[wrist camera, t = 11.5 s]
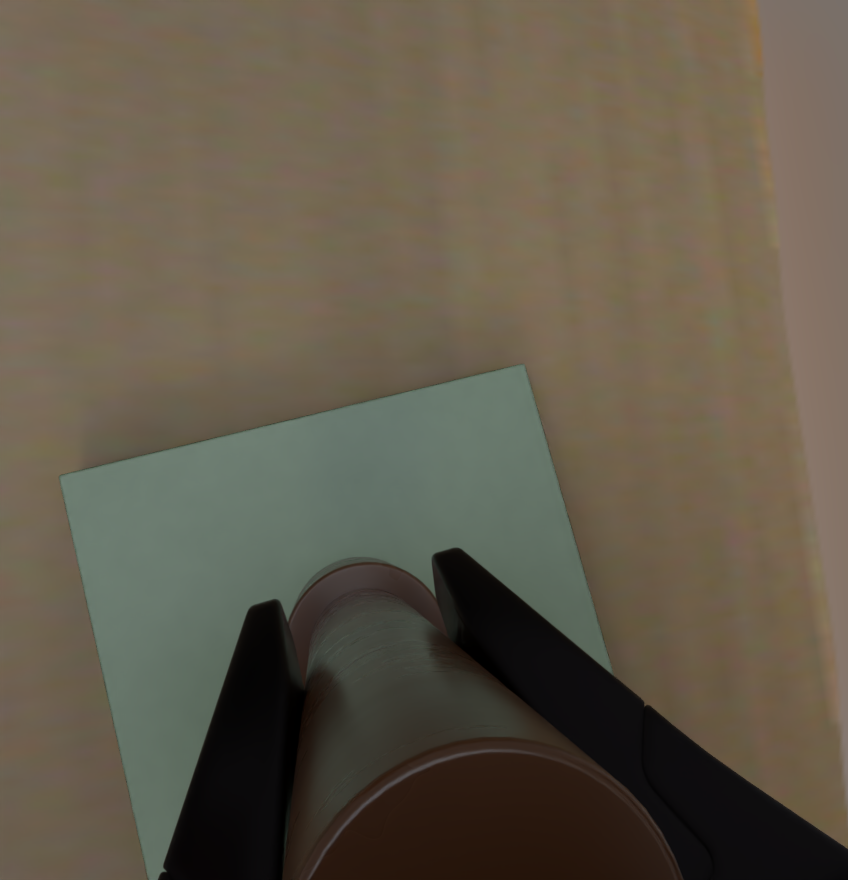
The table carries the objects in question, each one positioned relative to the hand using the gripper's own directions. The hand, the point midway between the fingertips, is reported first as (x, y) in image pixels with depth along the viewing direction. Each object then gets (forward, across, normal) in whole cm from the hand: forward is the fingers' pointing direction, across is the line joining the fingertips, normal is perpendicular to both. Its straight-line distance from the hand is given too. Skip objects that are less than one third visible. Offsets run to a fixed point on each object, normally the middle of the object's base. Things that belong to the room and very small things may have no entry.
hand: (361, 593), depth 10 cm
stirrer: (+4, 0, +6) cm, 7 cm away
